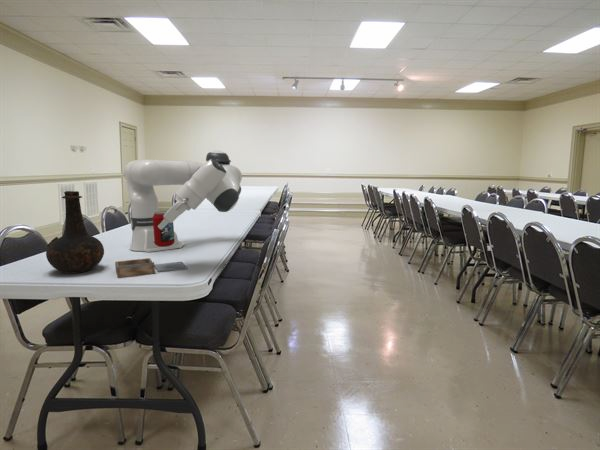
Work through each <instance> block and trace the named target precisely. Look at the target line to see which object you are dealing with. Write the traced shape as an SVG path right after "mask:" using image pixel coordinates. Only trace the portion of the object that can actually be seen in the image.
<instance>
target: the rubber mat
mask: <svg viewBox="0 0 600 450" xmlns="http://www.w3.org/2000/svg"><path fill="white" fill-rule="evenodd" d="M154 267H155V271H157V273H163V272H172V271H183V270H188V269H189V268H188V266H187V265H186V264H185V263H184V262H183V261H174V262H166V263H165V262H164V263H154Z"/></svg>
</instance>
